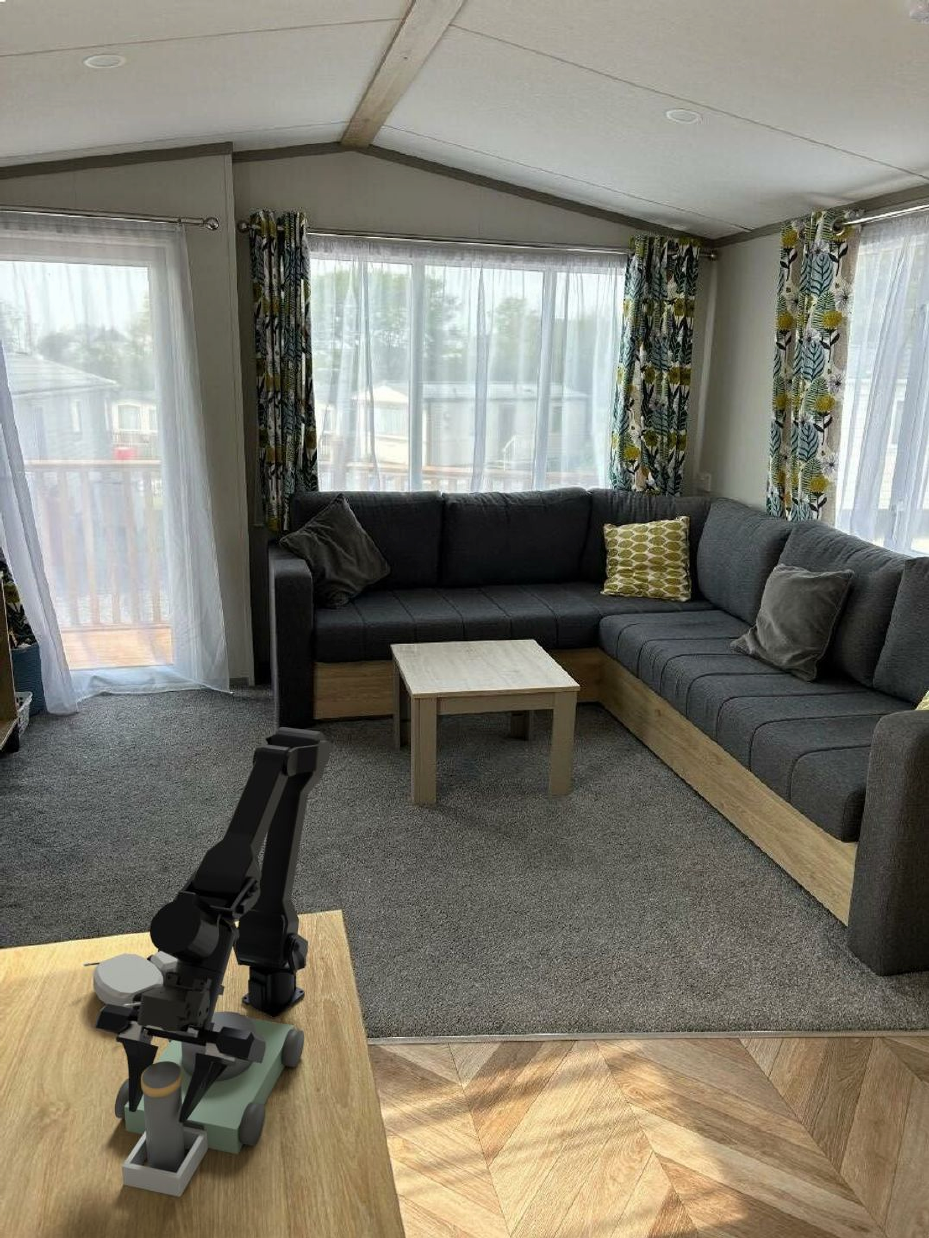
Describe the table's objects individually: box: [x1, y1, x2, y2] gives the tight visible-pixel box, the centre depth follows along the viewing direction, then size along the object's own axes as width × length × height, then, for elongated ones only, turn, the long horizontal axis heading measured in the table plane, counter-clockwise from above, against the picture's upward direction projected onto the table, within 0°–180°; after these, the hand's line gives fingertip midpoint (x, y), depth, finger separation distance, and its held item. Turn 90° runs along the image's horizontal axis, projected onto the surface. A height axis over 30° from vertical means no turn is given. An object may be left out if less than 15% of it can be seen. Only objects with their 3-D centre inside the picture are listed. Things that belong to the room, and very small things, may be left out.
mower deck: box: [114, 1010, 305, 1198], centre depth 119 cm, size 25×17×6 cm
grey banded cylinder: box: [141, 1061, 186, 1173], centre depth 110 cm, size 4×4×12 cm
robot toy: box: [83, 949, 178, 1010], centre depth 141 cm, size 12×4×15 cm
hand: (156, 1117), depth 108 cm, fingers open, 6 cm apart
